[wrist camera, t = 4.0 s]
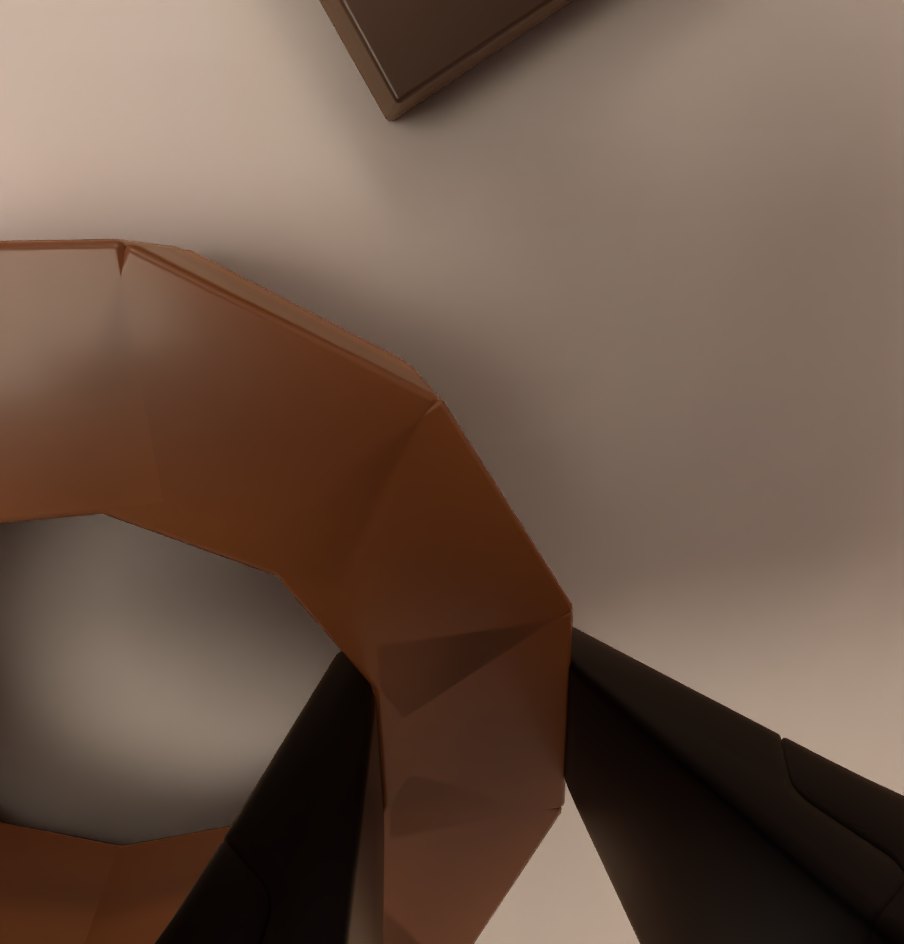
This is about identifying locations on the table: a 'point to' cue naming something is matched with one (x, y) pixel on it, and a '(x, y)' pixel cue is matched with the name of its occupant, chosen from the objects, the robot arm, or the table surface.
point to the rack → (426, 41)
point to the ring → (289, 564)
